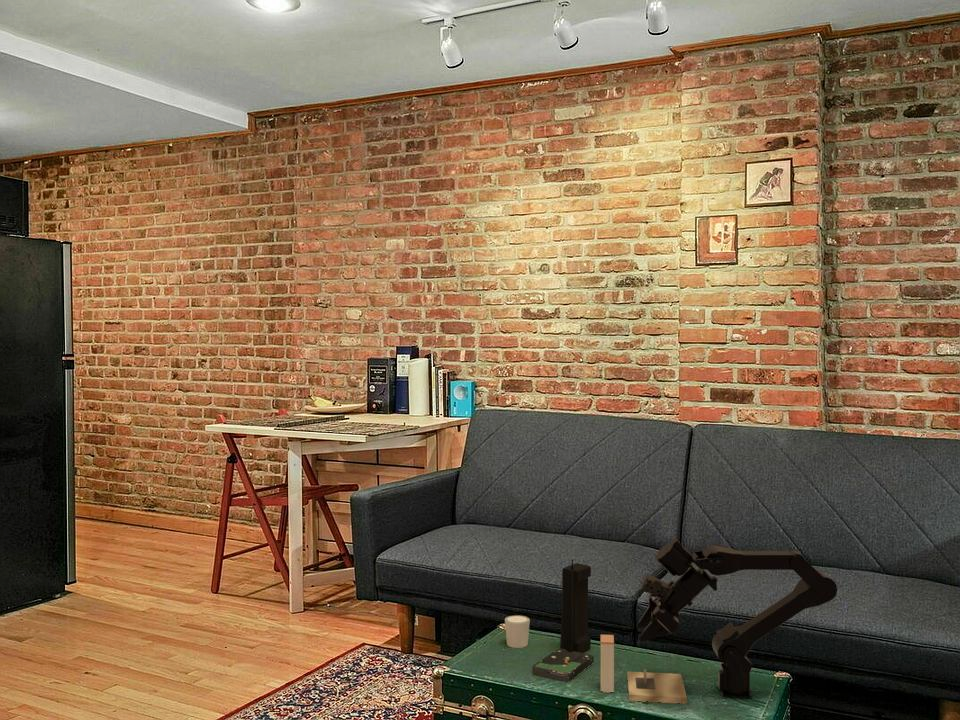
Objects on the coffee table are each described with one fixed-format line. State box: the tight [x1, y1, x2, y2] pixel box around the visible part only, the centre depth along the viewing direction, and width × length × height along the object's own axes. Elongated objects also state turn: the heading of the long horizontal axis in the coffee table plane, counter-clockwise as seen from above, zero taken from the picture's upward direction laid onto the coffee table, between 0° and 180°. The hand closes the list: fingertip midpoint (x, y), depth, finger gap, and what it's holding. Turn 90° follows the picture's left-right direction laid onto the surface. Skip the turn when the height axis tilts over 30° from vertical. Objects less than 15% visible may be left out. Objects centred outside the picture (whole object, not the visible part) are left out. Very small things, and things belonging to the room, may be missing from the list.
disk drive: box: [532, 647, 595, 683], centre depth 225 cm, size 10×3×15 cm
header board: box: [626, 668, 688, 705], centre depth 211 cm, size 13×14×4 cm
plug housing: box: [600, 634, 615, 693], centre depth 212 cm, size 3×5×12 cm, turn 173°
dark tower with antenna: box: [559, 559, 592, 653], centre depth 238 cm, size 8×6×25 cm
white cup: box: [504, 615, 531, 649], centre depth 242 cm, size 7×7×7 cm
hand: (639, 633), depth 211 cm, fingers open, 9 cm apart
